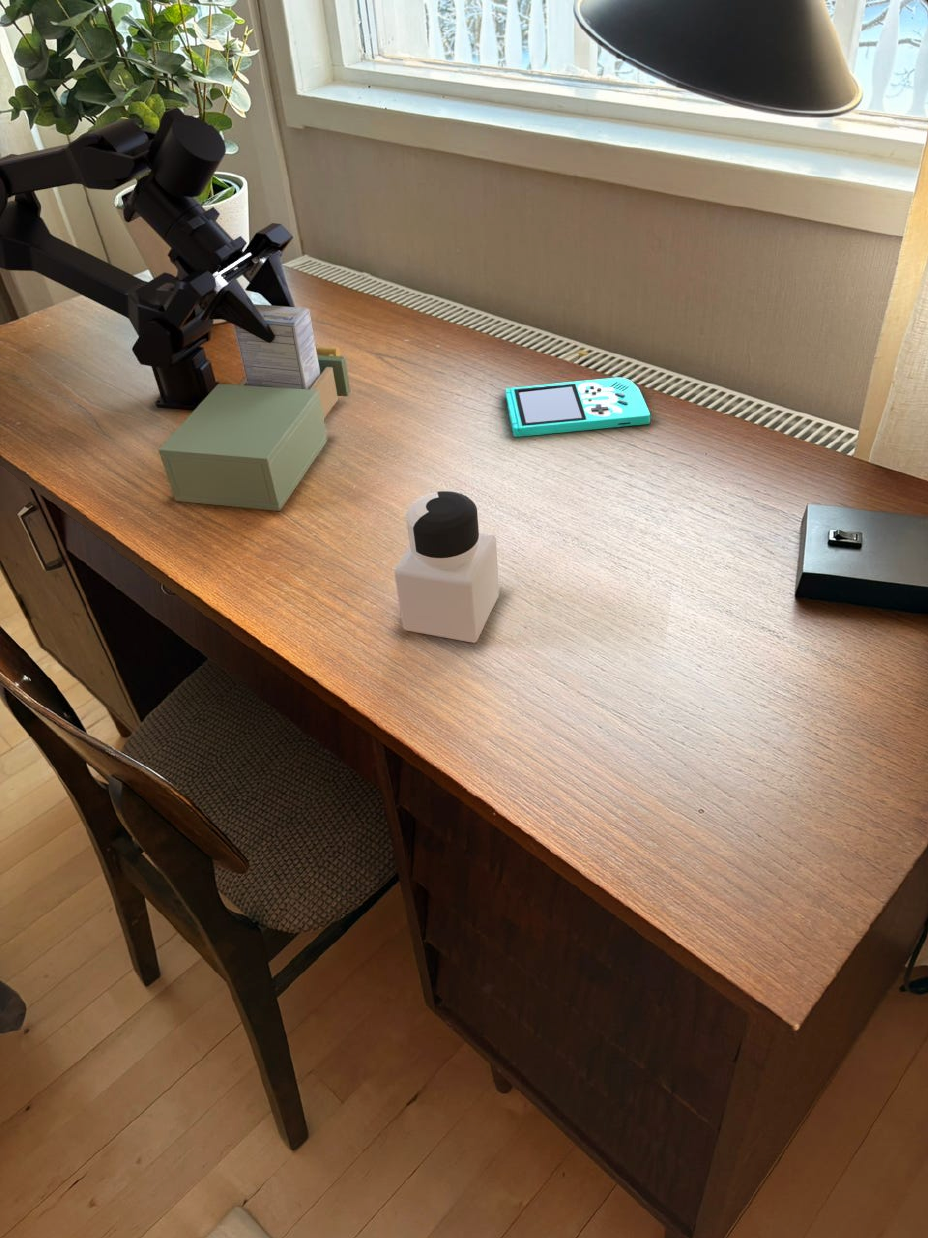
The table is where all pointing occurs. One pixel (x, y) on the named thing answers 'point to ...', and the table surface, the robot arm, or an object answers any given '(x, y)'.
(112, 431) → the table surface
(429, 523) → the medicine bottle
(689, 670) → the table surface
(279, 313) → the medicine box
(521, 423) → the handheld game console
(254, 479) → the cabinet
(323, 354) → the drawer
